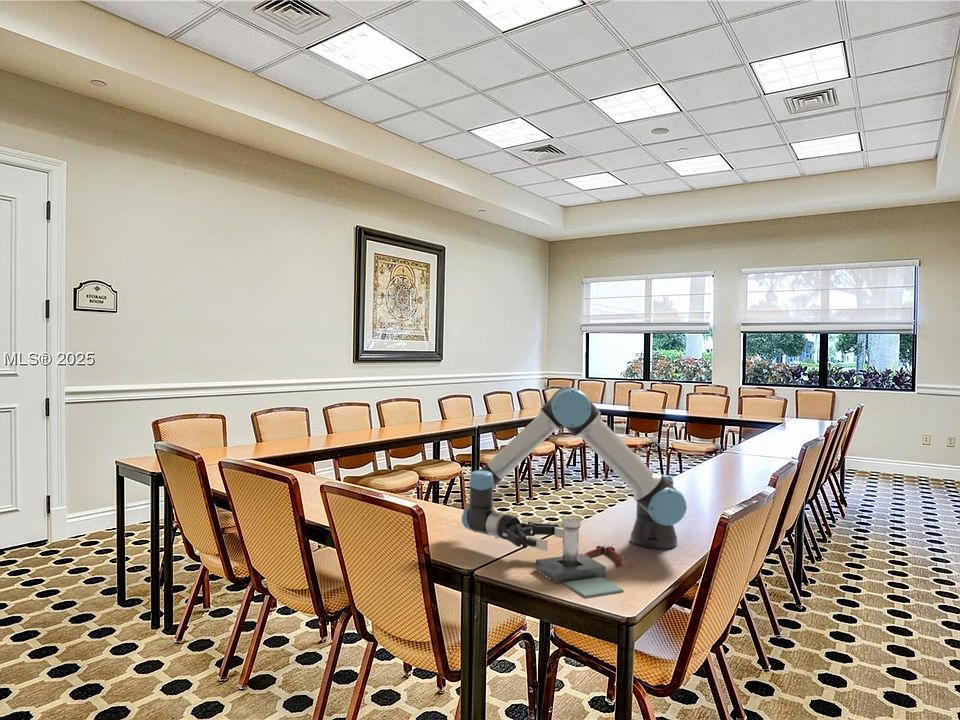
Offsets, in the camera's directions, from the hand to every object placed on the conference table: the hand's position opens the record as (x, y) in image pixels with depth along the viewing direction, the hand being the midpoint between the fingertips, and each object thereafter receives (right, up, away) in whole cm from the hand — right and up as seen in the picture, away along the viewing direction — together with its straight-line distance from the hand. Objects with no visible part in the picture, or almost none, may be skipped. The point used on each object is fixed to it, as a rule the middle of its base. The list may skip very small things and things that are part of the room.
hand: (560, 540), depth 179 cm
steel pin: (+2, -9, -2) cm, 9 cm away
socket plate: (+2, -9, -2) cm, 9 cm away
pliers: (+17, -10, +14) cm, 24 cm away
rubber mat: (+7, -9, -13) cm, 17 cm away
